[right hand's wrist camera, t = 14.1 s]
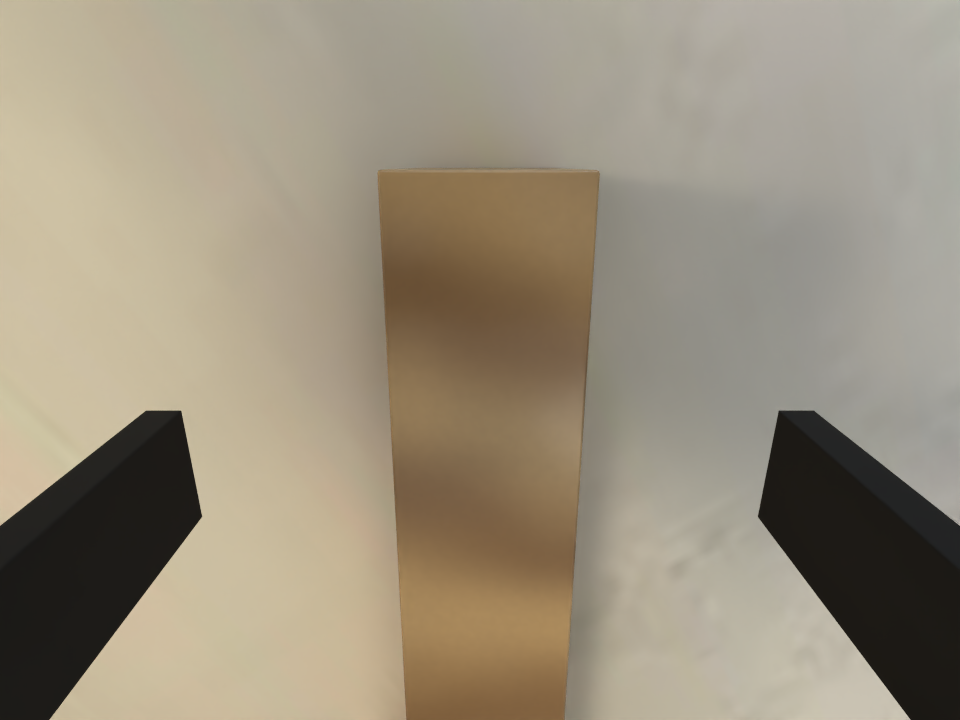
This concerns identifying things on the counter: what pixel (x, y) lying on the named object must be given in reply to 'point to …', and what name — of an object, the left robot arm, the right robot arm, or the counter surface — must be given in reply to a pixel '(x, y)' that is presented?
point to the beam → (487, 428)
